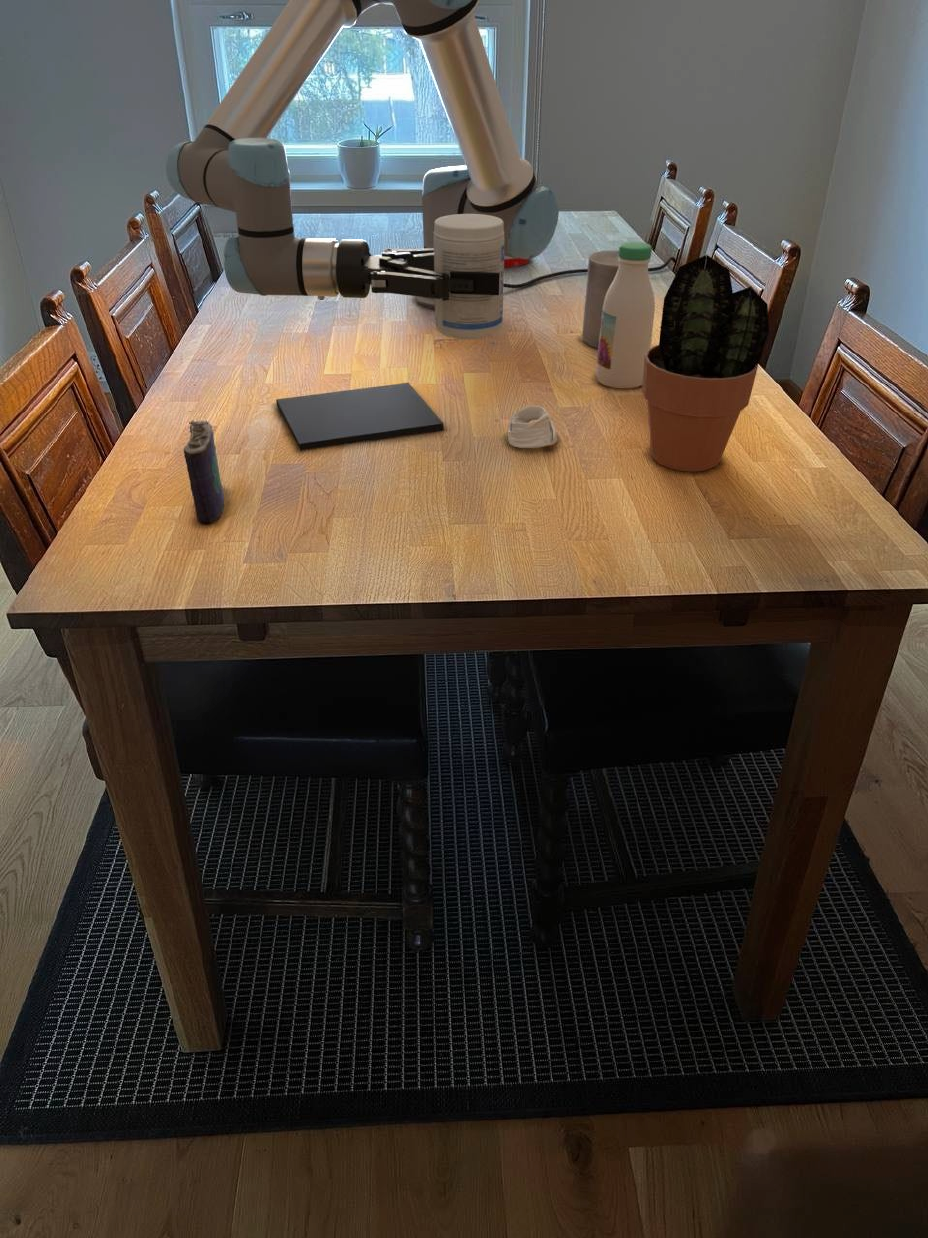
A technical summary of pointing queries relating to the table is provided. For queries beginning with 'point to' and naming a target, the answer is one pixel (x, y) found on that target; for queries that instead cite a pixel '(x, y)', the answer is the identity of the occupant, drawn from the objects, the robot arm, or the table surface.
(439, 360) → the table surface
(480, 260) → the supplement tub
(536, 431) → the white wrapped ring
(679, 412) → the potted plant
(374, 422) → the mat
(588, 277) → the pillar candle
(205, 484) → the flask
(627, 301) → the milk bottle
